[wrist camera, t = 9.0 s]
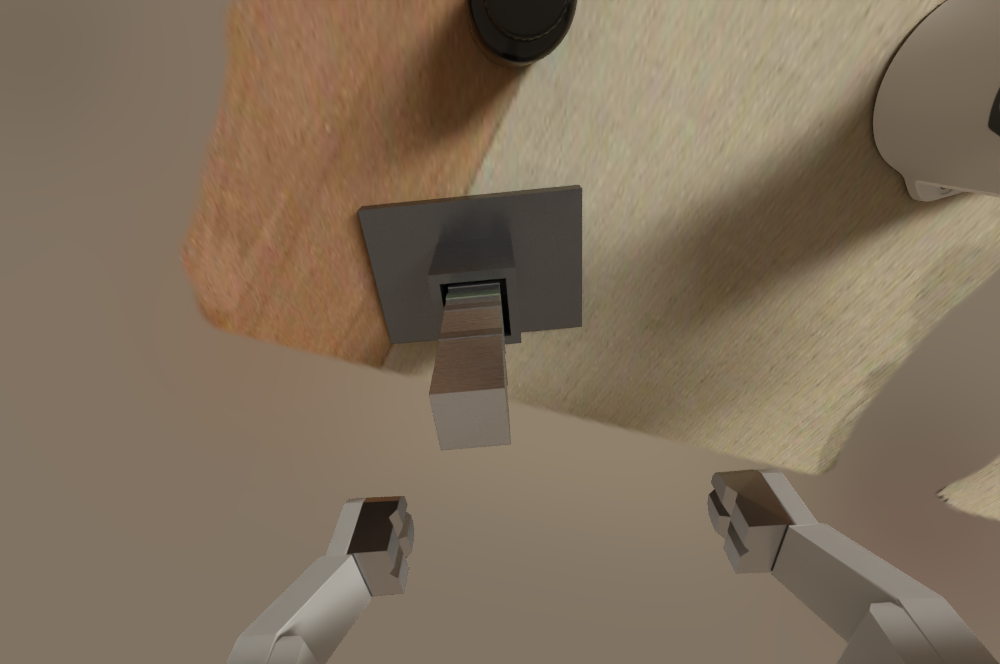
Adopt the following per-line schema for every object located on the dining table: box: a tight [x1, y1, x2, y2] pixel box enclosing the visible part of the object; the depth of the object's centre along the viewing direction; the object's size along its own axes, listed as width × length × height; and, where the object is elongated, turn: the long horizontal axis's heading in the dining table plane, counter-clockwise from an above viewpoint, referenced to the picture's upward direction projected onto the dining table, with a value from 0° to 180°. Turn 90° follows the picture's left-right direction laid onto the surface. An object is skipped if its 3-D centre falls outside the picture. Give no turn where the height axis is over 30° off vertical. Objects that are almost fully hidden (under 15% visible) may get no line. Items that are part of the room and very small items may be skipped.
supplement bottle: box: [465, 0, 577, 68], centre depth 28 cm, size 7×7×12 cm
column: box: [429, 279, 511, 450], centre depth 31 cm, size 4×4×16 cm
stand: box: [358, 185, 582, 344], centre depth 39 cm, size 20×14×10 cm
